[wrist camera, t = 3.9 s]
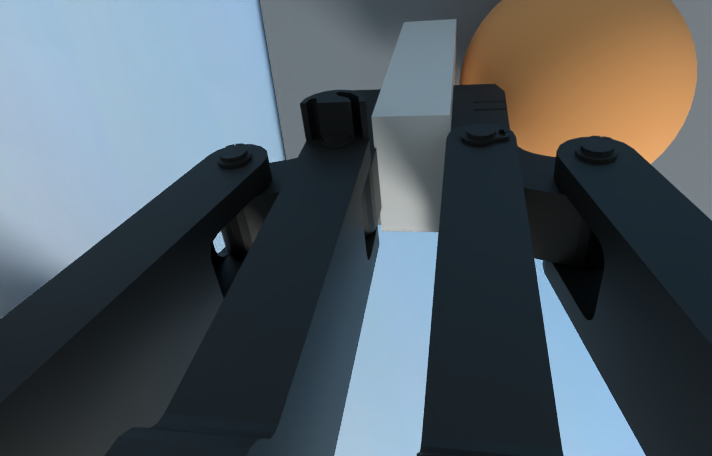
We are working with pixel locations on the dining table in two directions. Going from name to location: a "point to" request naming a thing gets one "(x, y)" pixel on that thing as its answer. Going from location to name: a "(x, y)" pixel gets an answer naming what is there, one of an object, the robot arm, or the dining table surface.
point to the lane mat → (469, 7)
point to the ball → (587, 70)
